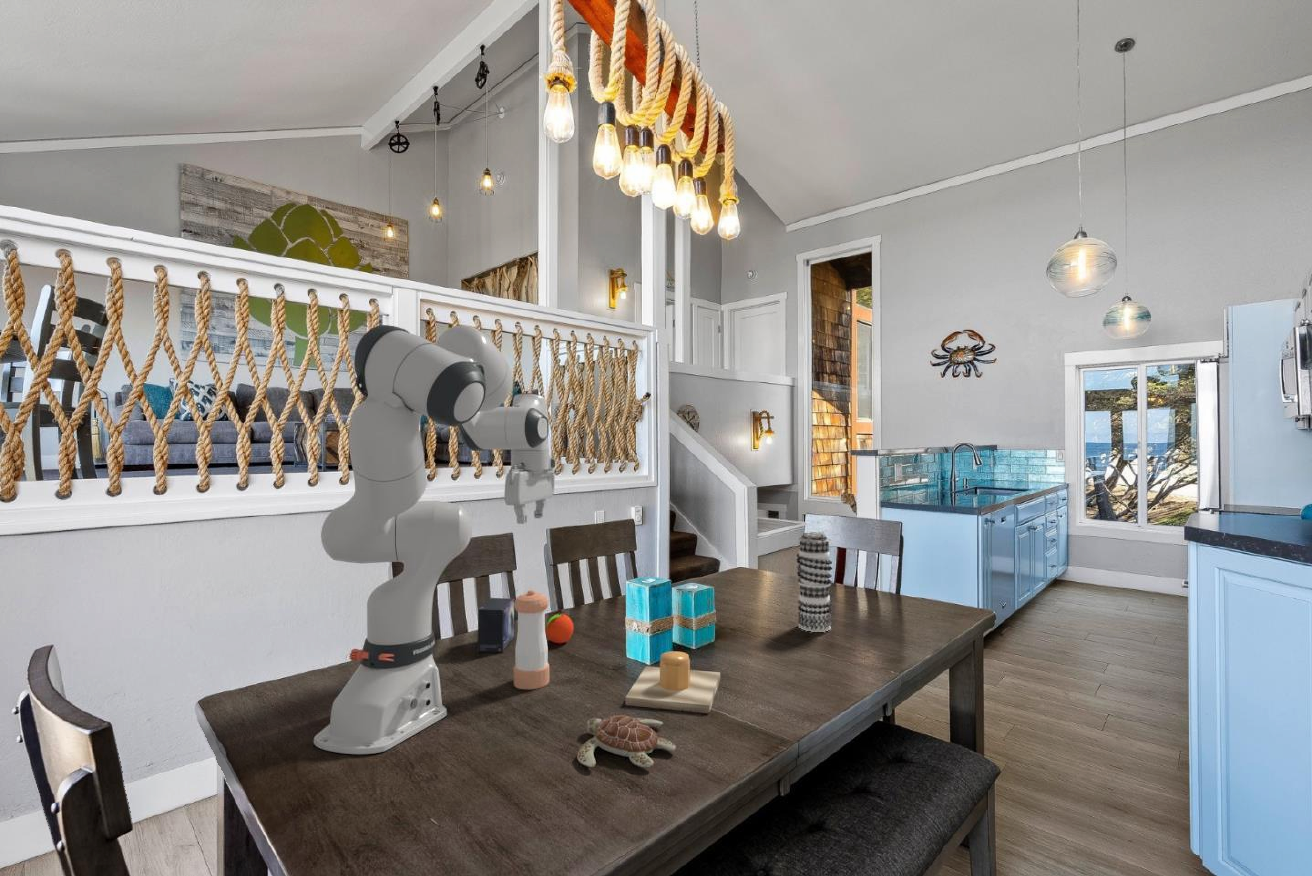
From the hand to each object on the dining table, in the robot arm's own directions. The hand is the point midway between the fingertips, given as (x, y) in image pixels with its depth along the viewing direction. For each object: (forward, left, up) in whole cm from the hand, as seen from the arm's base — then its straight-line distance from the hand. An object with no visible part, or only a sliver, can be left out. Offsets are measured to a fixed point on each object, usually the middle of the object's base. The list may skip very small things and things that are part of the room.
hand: (530, 520), depth 145 cm
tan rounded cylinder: (-15, -38, -30) cm, 50 cm away
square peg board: (-15, -38, -31) cm, 51 cm away
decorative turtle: (-38, -34, -32) cm, 60 cm away
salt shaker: (-17, -8, -31) cm, 37 cm away
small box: (+2, +10, -31) cm, 33 cm away
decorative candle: (+33, -66, -31) cm, 80 cm away
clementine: (+7, -4, -31) cm, 32 cm away
